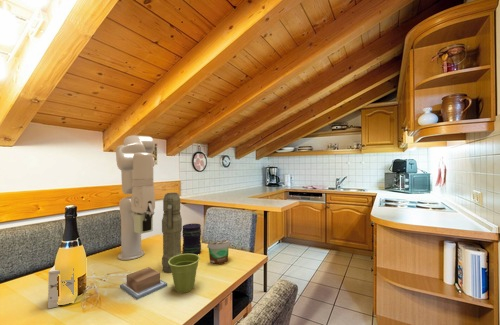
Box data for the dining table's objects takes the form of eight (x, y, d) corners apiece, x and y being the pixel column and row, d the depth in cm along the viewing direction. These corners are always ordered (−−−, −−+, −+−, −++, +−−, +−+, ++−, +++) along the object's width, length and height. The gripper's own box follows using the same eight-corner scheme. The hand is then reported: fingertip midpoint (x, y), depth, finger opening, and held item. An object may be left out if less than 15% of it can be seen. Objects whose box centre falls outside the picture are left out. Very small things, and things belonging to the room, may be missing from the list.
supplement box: (47, 309, 77) (47, 271, 77) (55, 298, 84) (55, 263, 84) (74, 304, 80) (74, 267, 80) (80, 293, 87) (80, 259, 87)
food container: (214, 268, 107) (214, 246, 107) (207, 264, 111) (207, 243, 112) (235, 260, 115) (235, 240, 115) (228, 257, 120) (227, 237, 120)
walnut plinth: (126, 285, 90) (126, 275, 90) (148, 276, 97) (148, 267, 97) (137, 292, 84) (137, 281, 85) (160, 283, 92) (160, 272, 92)
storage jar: (178, 254, 125) (178, 226, 125) (192, 248, 133) (192, 222, 133) (191, 257, 119) (190, 228, 120) (204, 252, 127) (204, 224, 128)
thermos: (160, 276, 100) (160, 195, 100) (163, 265, 111) (162, 192, 112) (182, 273, 102) (181, 194, 103) (182, 262, 113) (181, 191, 114)
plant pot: (164, 287, 90) (164, 258, 91) (193, 278, 97) (192, 251, 98) (174, 300, 81) (173, 268, 81) (205, 289, 88) (204, 260, 88)
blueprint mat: (119, 287, 90) (119, 284, 90) (149, 275, 100) (149, 273, 100) (136, 299, 82) (136, 296, 82) (167, 285, 91) (167, 283, 91)
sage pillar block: (134, 231, 91) (134, 214, 91) (146, 229, 95) (146, 212, 95) (140, 234, 88) (140, 215, 88) (152, 231, 92) (152, 213, 92)
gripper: (123, 183, 94) (124, 228, 94) (144, 185, 83) (144, 235, 83) (142, 182, 100) (142, 224, 99) (163, 183, 89) (163, 230, 89)
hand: (143, 228), depth 91 cm, fingers closed on sage pillar block, 5 cm apart
